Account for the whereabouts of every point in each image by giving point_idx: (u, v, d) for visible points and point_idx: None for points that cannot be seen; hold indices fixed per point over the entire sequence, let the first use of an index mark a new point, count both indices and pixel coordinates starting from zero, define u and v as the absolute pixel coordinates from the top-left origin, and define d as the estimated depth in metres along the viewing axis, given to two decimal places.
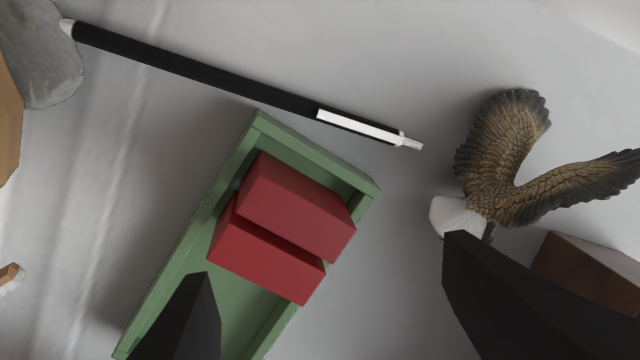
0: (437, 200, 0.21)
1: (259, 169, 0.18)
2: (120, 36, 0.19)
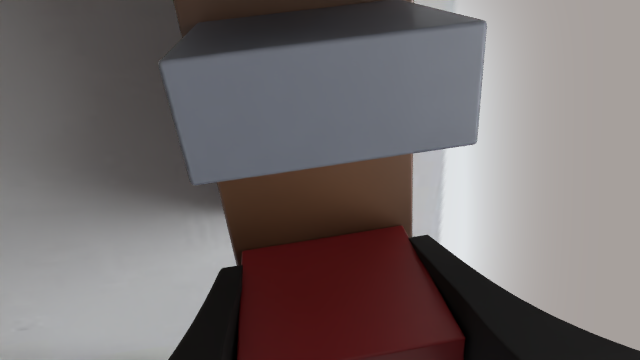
0: None
1: None
2: None
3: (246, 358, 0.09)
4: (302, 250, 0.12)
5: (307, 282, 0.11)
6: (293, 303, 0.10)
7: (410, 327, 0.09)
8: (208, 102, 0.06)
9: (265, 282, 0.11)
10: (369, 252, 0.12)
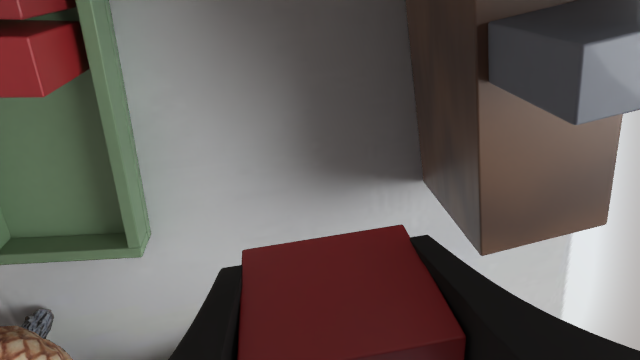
0: None
1: None
2: None
3: (247, 357, 0.09)
4: (303, 249, 0.12)
5: (307, 281, 0.11)
6: (294, 302, 0.10)
7: (411, 326, 0.09)
8: (603, 67, 0.10)
9: (265, 281, 0.11)
10: (370, 251, 0.12)
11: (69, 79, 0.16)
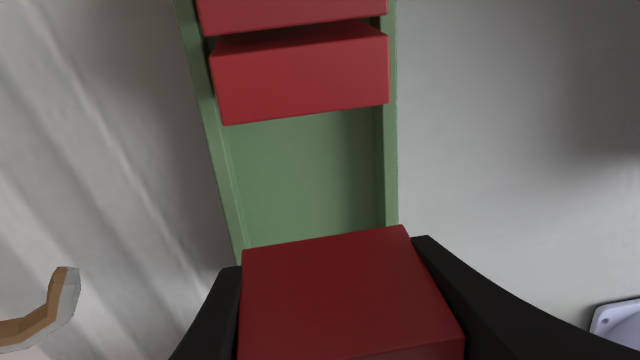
0: None
1: None
2: None
3: (245, 357, 0.09)
4: (302, 248, 0.12)
5: (307, 281, 0.11)
6: (293, 301, 0.10)
7: (410, 326, 0.09)
8: None
9: (265, 280, 0.11)
10: (369, 251, 0.12)
11: None
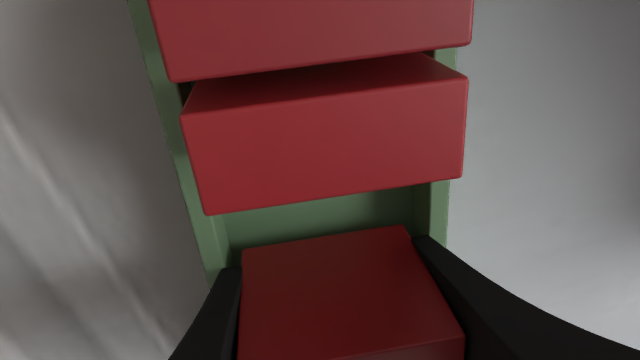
0: None
1: None
2: None
3: (246, 356, 0.09)
4: (302, 248, 0.12)
5: (307, 281, 0.11)
6: (293, 301, 0.10)
7: (411, 325, 0.09)
8: None
9: (265, 280, 0.11)
10: (369, 250, 0.12)
11: None
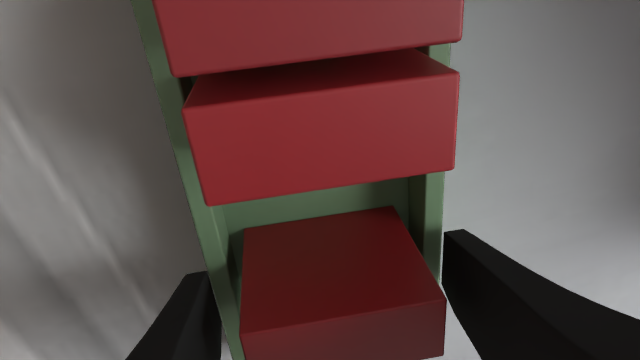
0: None
1: None
2: None
3: (248, 318, 0.10)
4: (299, 227, 0.13)
5: (304, 254, 0.12)
6: (292, 272, 0.11)
7: (397, 291, 0.10)
8: None
9: (266, 254, 0.12)
10: (362, 228, 0.13)
11: None
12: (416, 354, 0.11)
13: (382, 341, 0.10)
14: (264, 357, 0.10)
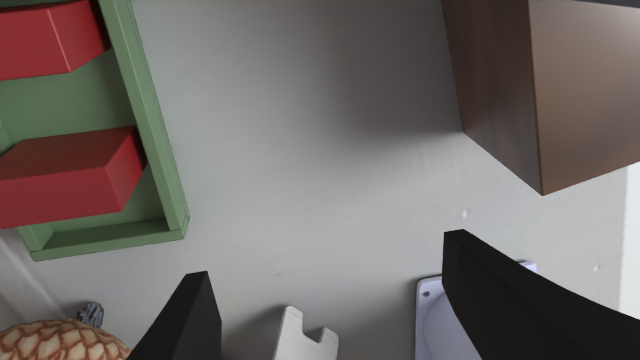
0: None
1: None
2: None
3: None
4: (60, 137, 0.19)
5: (46, 150, 0.17)
6: (27, 158, 0.17)
7: (81, 164, 0.16)
8: None
9: (21, 151, 0.18)
10: (99, 137, 0.18)
11: (93, 56, 0.16)
12: (100, 208, 0.16)
13: (70, 196, 0.16)
14: None
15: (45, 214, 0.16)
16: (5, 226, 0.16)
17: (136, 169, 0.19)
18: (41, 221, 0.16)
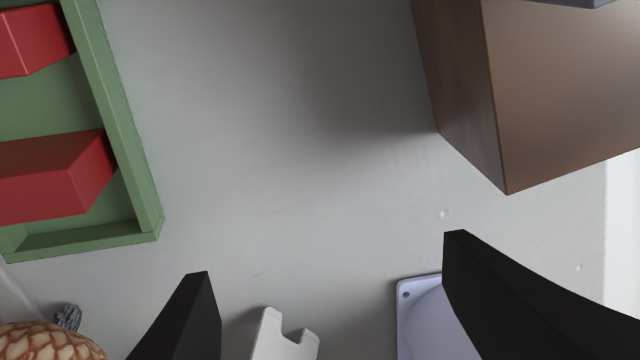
0: None
1: None
2: None
3: None
4: (30, 140, 0.19)
5: (13, 153, 0.18)
6: None
7: (44, 166, 0.16)
8: None
9: None
10: (67, 139, 0.18)
11: (56, 59, 0.16)
12: (64, 210, 0.16)
13: (33, 199, 0.16)
14: None
15: (10, 216, 0.16)
16: None
17: (106, 171, 0.19)
18: (6, 223, 0.16)
